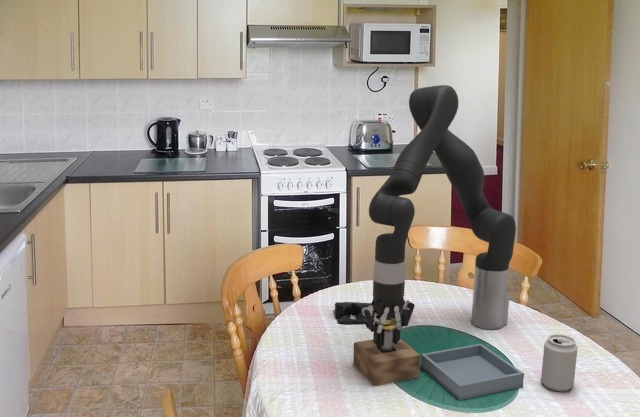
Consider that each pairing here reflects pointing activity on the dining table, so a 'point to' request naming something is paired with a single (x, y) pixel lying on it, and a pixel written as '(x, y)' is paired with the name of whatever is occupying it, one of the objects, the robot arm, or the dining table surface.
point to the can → (559, 362)
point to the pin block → (386, 362)
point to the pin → (387, 336)
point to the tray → (471, 371)
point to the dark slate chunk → (352, 312)
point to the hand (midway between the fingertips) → (386, 343)
